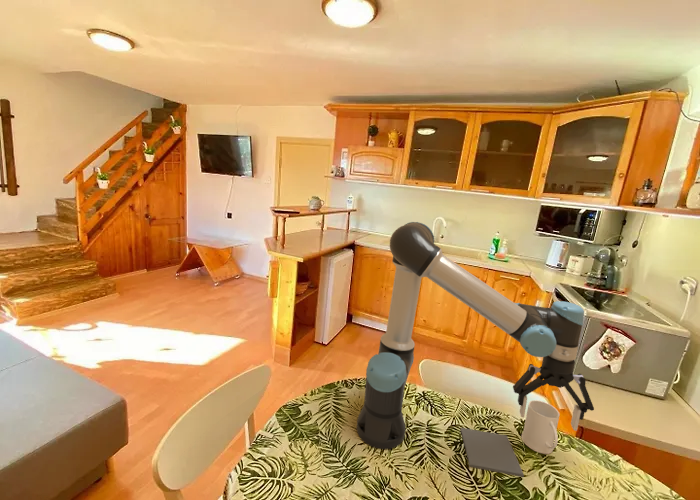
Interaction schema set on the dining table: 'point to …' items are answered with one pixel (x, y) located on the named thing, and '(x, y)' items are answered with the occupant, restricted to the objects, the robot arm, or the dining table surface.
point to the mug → (541, 427)
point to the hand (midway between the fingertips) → (547, 420)
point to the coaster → (490, 452)
